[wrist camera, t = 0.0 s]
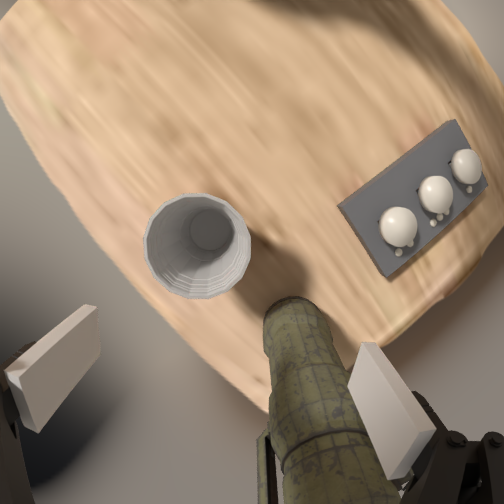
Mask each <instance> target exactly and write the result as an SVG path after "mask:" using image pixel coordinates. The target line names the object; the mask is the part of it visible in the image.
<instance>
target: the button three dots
mask: <svg viewBox="0 0 504 504" xmlns="http://www.w3.org/2000/svg"><path fill="white" fill-rule="evenodd" d="M417 193H418V197H419V201H420V203H421V205H422V207H423V208H424V209H425V210H427V211H429V212H433V213H444V212H446V211H447V210H448V209H449V208H450V206H451V204H452V201H453V190H452V187H451V184H450V183H449V181H448V180H447V179H446V178H444V177H442V176H428V177H426V178H424V179H423V180H422V182H421V183H420V186H419V189H418V190H417Z"/></svg>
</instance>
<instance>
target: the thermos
mask: <svg viewBox="0 0 504 504" xmlns="http://www.w3.org/2000/svg"><path fill="white" fill-rule="evenodd" d="M332 343H333V338H332V335H331V332H330V328H329V326H328V324H327V322H326V320H325V318H324V317H323V315H322V314H321V313H320V311H319V310H318V308H317V307H316V306H315V304H314V303H312V302H311V301H309V300H308V299H305V298H302V297H287V298H284V299H281V300H279V301H277V302H276V303H274V304H273V305H272V306H271V307H270V308H269V310H268V311H267V312H266V315H265V318H264V321H263V346H264V352H265V354H266V355H267V357H268V358H269V364H270V375H271V386H272V393H271V395H270V397H269V420H270V421H269V422H267V423H268V428H267V429H265V430H264V432H263V433H262V434H261V435H260V436H259V437H258V439H257V476H258V477H257V480H258V481H257V482H258V504H278V491H277V478H276V465H275V454H276V455H277V457H278V459H279V460H280V465H281V471H282V473H283V474H284V477H283V496H284V504H399V503H400V501H401V498H400V495H399V492H398V491H400V490H402V486H401V485H403V484H404V483H406V482H408V481H409V480H410V479H411V478H412V477H413V474H414V472H413V470H412V468H411V469H410V470H409V471H408V473H407V474H406V475H405V477H403V478H398V479H392V480H387V478H386V475H385V473H384V470H383V468H382V465H381V463H380V461H379V458H378V456H377V454H376V451H375V449H374V446H373V444H372V442H371V439H370V437H369V435H368V432H367V430H366V428H365V425H364V423H363V421H362V419H361V416H360V414H359V412H358V409H357V407H356V405H355V403H354V400H353V398H352V396H351V394H350V391H349V389H348V387H347V386H348V383H349V380H350V377H351V373H349V372H348V371H346V370H345V368H344V366H343V364H342V362H341V360H340V358H339V356H338V354H337V352H336V350H335V348H334V346H333V344H332Z"/></svg>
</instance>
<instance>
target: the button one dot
mask: <svg viewBox="0 0 504 504" xmlns="http://www.w3.org/2000/svg"><path fill="white" fill-rule="evenodd" d="M448 165H449V166H450V168H451V170H452V172H453V175H454V177H455V178H456V179H457V180H458V181H459V182H460V183H463V184H474V183H476V182H477V181H478V180H479V179H480V176H481V172H482V166H481V161H480V159H479V157H478V155H477V154H476V153H475V152H474V151H473V150H471V149H463V150H458V151H456V152H455V153H454V154H453V156H452V160H451V162H450V163H449V164H448Z"/></svg>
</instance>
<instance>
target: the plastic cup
mask: <svg viewBox="0 0 504 504" xmlns="http://www.w3.org/2000/svg"><path fill="white" fill-rule="evenodd" d="M143 244H144V257H145V261H146V263H147V265H148V267H149V269H150V271H151V273H152V275H153V277H154V278H155V279H156V280H157V281H158V282H159V283H160V284H161V285H163V286H164V287H165V288H166V289H167V290H168V291H169V292H172V293H174V294H177V295H180V296H182V297H185V298H187V299H210V298H212V297H215V296H217V295H220V294H222V293H225V292H228V291H229V290H230V289H231V288H232V287H233V286H234V285H235V284H236V283H237V282H238V281H239V280H240V279H241V278H242V277H243V275H244V273H245V270H246V268H247V266H248V263H249V261H250V259H251V236H250V234H249V231H248V229H247V227H246V224H245V222H244V219H243V217H242V216H241V215H240V214H239V213H238V212H237V211H236V210H235V209H234V208H233V207H232V206H231V205H230V204H229V203H228V202H227V201H224V200H222V199H219V198H217V197H214V196H212V195H209V194H207V193H187V194H182V195H180V196H177V197H175V198H173V199H171V200H169V201H166V202H164V203H163V204H162V205H161V206H160V208H159V209H158V210H157V211H156V212H155V213H154V214H153V215H152V216H151V218H150V219H149V222H148V225H147V228H146V231H145V234H144V237H143Z"/></svg>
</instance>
